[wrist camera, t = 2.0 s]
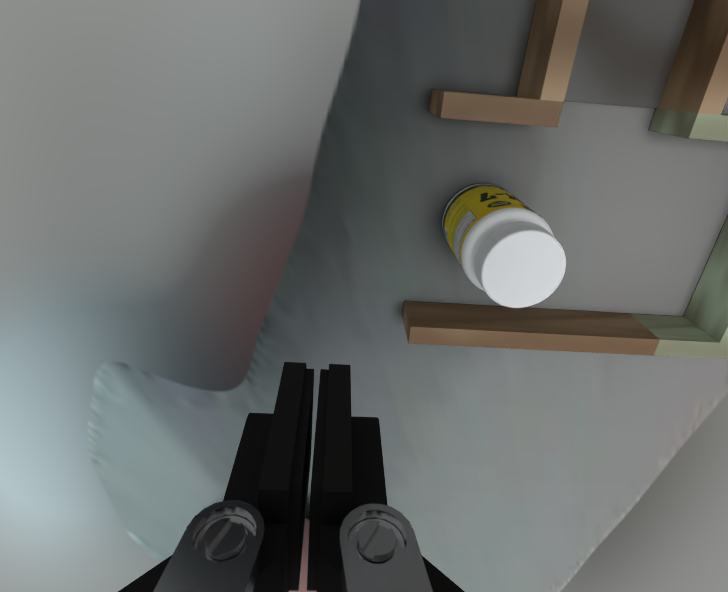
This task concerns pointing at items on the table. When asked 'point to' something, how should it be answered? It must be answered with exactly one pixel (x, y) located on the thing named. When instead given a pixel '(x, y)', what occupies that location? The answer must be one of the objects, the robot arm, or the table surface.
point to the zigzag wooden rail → (672, 116)
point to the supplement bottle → (503, 246)
